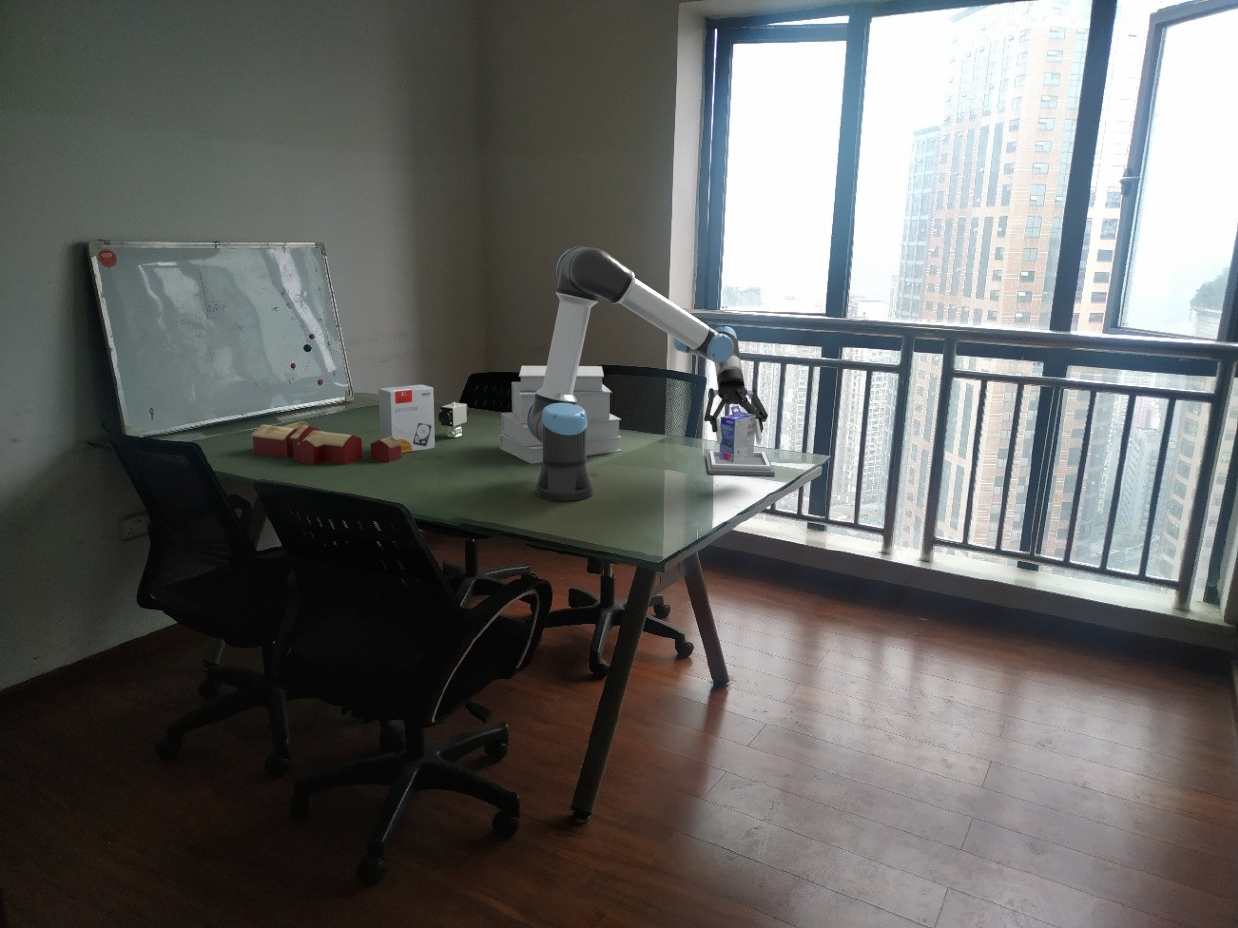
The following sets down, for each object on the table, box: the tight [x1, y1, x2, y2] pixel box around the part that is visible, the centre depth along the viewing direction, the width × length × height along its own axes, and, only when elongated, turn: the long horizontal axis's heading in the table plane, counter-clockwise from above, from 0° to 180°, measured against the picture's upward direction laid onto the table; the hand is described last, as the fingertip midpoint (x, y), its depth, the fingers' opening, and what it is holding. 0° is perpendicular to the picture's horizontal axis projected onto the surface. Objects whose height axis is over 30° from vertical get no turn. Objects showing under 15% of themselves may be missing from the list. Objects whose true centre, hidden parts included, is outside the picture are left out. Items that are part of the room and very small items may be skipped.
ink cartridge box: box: [719, 405, 756, 463], centre depth 238 cm, size 10×6×14 cm, turn 137°
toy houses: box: [250, 420, 402, 466], centre depth 265 cm, size 45×20×10 cm, turn 68°
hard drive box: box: [377, 384, 436, 454], centre depth 272 cm, size 16×8×20 cm, turn 131°
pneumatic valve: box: [438, 401, 470, 439], centre depth 291 cm, size 6×12×12 cm, turn 155°
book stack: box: [499, 365, 622, 465], centre depth 274 cm, size 30×35×26 cm
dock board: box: [705, 450, 776, 477], centre depth 261 cm, size 19×21×2 cm
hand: (739, 441), depth 235 cm, fingers closed on ink cartridge box, 10 cm apart
